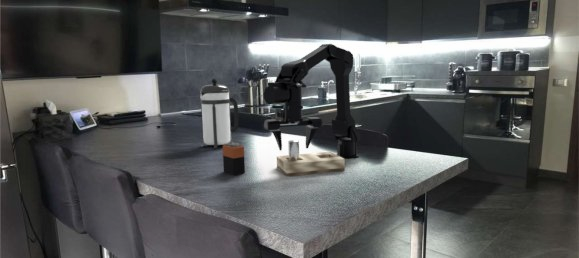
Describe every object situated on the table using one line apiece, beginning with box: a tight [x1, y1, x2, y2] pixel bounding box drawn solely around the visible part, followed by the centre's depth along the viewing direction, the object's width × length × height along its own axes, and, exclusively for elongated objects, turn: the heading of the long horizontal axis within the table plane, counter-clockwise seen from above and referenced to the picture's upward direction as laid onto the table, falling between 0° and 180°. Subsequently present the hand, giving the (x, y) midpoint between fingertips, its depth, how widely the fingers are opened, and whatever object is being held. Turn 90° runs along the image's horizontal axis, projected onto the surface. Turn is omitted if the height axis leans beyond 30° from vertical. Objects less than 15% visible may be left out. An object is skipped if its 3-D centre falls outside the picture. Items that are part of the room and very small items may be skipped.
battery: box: [222, 141, 246, 176], centre depth 131 cm, size 4×7×10 cm, turn 42°
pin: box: [287, 139, 300, 161], centre depth 132 cm, size 4×4×9 cm
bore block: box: [276, 151, 346, 177], centre depth 134 cm, size 20×12×4 cm, turn 107°
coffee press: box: [199, 78, 240, 150], centre depth 176 cm, size 17×16×30 cm
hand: (293, 149), depth 131 cm, fingers open, 9 cm apart
